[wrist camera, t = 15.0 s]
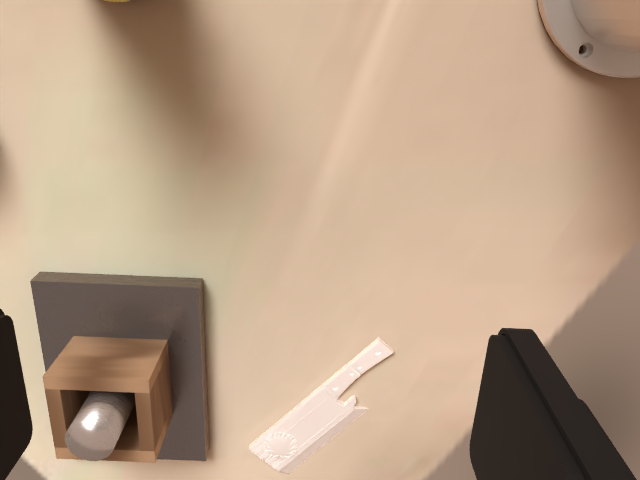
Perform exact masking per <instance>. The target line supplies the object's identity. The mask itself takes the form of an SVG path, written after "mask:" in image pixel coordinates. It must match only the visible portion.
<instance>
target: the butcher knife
mask: <svg viewBox="0 0 640 480" xmlns="http://www.w3.org/2000/svg"><path fill="white" fill-rule="evenodd" d="M393 353H394V350H393V349H392V348H391V347H390V346H389V345H387V344H386V343H385V342H384V341H383V340H382V339H381V338H380V337H378V338H377V339H376V340H375V341H373V342H372V343H371V344H370V345H369V346H367V347H366V348H365V349H364V350H363V351H361V352H360V353H359V354H358V355H357V356H355V357H354V358H353V359H352V360H351V361H349V362H348V363H347V364H346V365H345V366H343V367H342V368H341V369H340V370H339V371H337V372H336V373H335V374H334V375H333V376H331V377H330V378H329V379H328V380H327V381H325V383H323V384H322V385H321V386H319V387H318V388H317V389H316V390H315V391H313V392H312V393H311V394H310V395H309V396H307V397H306V398H305V399H304V400H303V401H302V402H300V403H299V404H298V405H297V406H295V407H294V408H293V409H292V410H291V411H289V412H288V413H287V414H286V415H285V416H283V417H282V418H281V419H280V420H279V421H277V422H276V423H275V424H274V425H273V426H271V427H270V428H269V429H268V430H267V431H265V432H264V433H263V434H262V435H261V436H259V437H258V438H257V439H256V440H255V441H253V442H252V443H251V444H250V446H249V449H250V450H251V451H252V452H253V453H255V455H257V456H259V457H260V458H262V459H261V460H264V461H265V462H267V464H270V465H271V466H272V467H273V468H274V469H276V470H278V471H281V472H284V473H288V474H289V473H290V472H292V471H293V470H294V469H295V468H297V467H298V466H299V465H300V464H301V463H303V462H304V461H305V460H306V459H308V458H309V457H310V456H311V455H313V454H314V453H315V452H316V451H318V450H319V449H320V448H321V447H323V446H324V444H326V443H328V442H329V441H330V440H331V439H333V438H334V437H335V436H336V435H338V434H339V433H340V432H341V431H343V430H344V429H345V428H346V427H348V426H349V425H350V424H351V423H353V422H354V421H355V420H356V419H358V418H359V417H360V416H361V415H363V414H364V413H365V412H366V411H368V410H369V409H368V408H364V407H360V406H355V405H356V396H355V395H354V396H351V397H350V398H349V399H348V400H347V401H346V402H344V403H343V402H342V401H341V400H340V399H339V397H340V395H341V394H342V393H343V392H344V391H345V390H346V389H347V388H348V387H349V386H350V385H351V384H352V383H353V382H354V381H355V380H356V379H357V378H358V377H360V375H361V374H363V373H364V372H365V371H367V370H368V369H370V368H371V367H373V366H374V365H376V364H377V363H379V362H380V361H382V360H383V359H385V358H386V357H388V356H390V355H391V354H393ZM354 404H355V405H354Z"/></svg>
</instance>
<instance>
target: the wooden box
mask: <svg viewBox="0 0 640 480" xmlns="http://www.w3.org/2000/svg"><path fill="white" fill-rule="evenodd" d="M43 382H44V388H45V393H46V399H47V405H48V411H49V417H50V423H51V429H52V435H53V441H54V446H55V452H56V458H57V459H81V458H79V457H77V456H75V455H74V454H73V453H72V452H71V451H70V450H69V449H68V448H67V446H66V443H65V434H66V432H67V430H68V429H69V427H70V425H71V424H72V422H73V420H74V419H75V417H76V415H77V414H78V412H79V410H80V409H81V407H82V406H83V404H84V402H85V401H86V399H87V397H88V396H89V394H90V392H91V391H108V392H133V393H135V402H136V404H135V405H134V407H133V409H132V412H131V414H130V416H129V418H128V420H127V422H126V424H125V426H124V428H123V430H122V433H121V435H120V437H119V439H118V441H117V443H116V445H115V447H114V449H113V451H112V453H111V454H110V455H109V456H108V457H107V458H105V459H102V460H107V461H132V462H156V459H157V457H158V454H159V451H160V449H161V446H162V443H163V440H164V438H165V435H166V432H167V430H168V427H169V424H170V422H171V419H172V416H173V412H172V397H171V382H170V367H169V352H168V340H157V339H133V338H109V337H85V336H73V337H72V339H71V340H70V341H69V343H68V344H67V345H66V347H65V348H64V349H63V351H62V352H61V353H60V354H59V356H58V357H57V358H56V360H55V361H54V362H53V364H52V365H51V366H50V368H49V369H48V370H47V371H46V373H45V374H44V375H43ZM81 460H84V459H81Z"/></svg>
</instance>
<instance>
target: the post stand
mask: <svg viewBox="0 0 640 480" xmlns="http://www.w3.org/2000/svg"><path fill="white" fill-rule="evenodd" d="M30 282H31V288H32V294H33V299H34V305H35V311H36V317H37V323H38V329H39V335H40V341H41V347H42V353H43V359H44V365H45V371H47V370H48V369H49V368H50V366H51V365H52V364H53V362H54V361H55V360H56V358H57V357H58V356H59V354H60V353H61V352H62V351H63V349H64V348H65V347H66V345H67V344H68V343H69V341H70V340H71V339H72V337H73V336H85V337H109V338H133V339H157V340H168V352H169V367H170V382H171V397H172V412H173V416H172V419H171V422H170V424H169V427H168V430H167V432H166V435H165V438H164V440H163V443H162V446H161V449H160V451H159V454H158V457H157V459H170V460H197V461H206V459H207V455H208V451H209V427H208V401H207V376H206V351H205V325H204V300H203V279H201V278H176V277H152V276H128V275H104V274H79V273H55V272H39V273H38V274H37V275H36V276H35V277H34V278H33V279H32V280H31V281H30ZM135 404H136V402H135V393H133V392H108V391H91V392H90V394H89V396H88V397H87V399H86V401H85V402H84V404H83V406H82V407H81V409H80V410H79V412H78V414H77V415H76V417H75V419H74V420H73V422H72V424H71V425H70V427H69V429H68V430H67V432H66V434H65V443H66V446H67V448H68V449H69V450H70V451H71V452H72V453H73V454H74V455H75V456H77V457H79V458H81V459H84V460H88V461H99V460H102V459H105V458H107V457H108V456H109V455H110V454H111V453H112V451H113V449H114V447H115V445H116V443H117V441H118V439H119V437H120V435H121V433H122V430H123V428H124V426H125V424H126V422H127V420H128V418H129V416H130V414H131V412H132V409H133V407H134V405H135Z"/></svg>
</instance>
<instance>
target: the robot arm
mask: <svg viewBox="0 0 640 480" xmlns="http://www.w3.org/2000/svg"><path fill="white" fill-rule="evenodd" d="M538 7H539V12H540V15H541V17H542V20H543V23H544V26H545V29H546V31H547V32H548V34H549V36H550V37H551V39H552V41H553V42H554V44H555V45H556V46H557V47H558V48H559V49H560V51H561V52H562V53H563V54H564V55H565V56H566V57H567V58H568V59H570V60H571V61H573V62H574V63H576V64H578V65H579V66H581V67H582V68H584V69H587V70H590V71H592V72H595V73H598V74H601V75H606V76H611V77H619V78H638V77H640V0H538ZM581 45H582V46H583V51H582V52H581V53H580V54H579V48H580V46H581ZM32 429H33V428H32V421H31V415H30V410H29V405H28V399H27V394H26V389H25V383H24V378H23V373H22V367H21V362H20V357H19V351H18V346H17V341H16V335H15V330H14V325H13V321H12V319H11V317H10V316H8V315H4V312H3V311H2V310H1V309H0V480H5V479H6V477H7V476H8V475H9V473H10V472H11V470H12V469H13V467H14V466H15V464H16V463H17V461H18V460H19V458H20V457H21V455H22V454H23V452H24V451H25V449H26V448H27V446H28V445H29V443H30V440H31V436H32ZM470 458H471V462H472V466H473V469H474V472H475V475H476V478H477V480H636V478H635V477H634V475H633V474H632V472H631V471H630V469H629V468H628V466H627V465H626V463H625V462H624V460H623V459H622V457H621V456H620V454H619V453H618V451H617V450H616V448H615V447H614V445H613V444H612V442H611V441H610V439H609V438H608V436H607V435H606V433H605V432H604V430H603V429H602V427H601V426H600V424H599V423H598V421H597V420H596V418H595V417H594V415H593V414H592V412H591V411H590V409H589V408H588V406H587V405H586V404H585V403H584V402H583V401H582V400H580V399H578V398H577V396H576V395H575V393H574V392H573V390H572V388H571V387H570V385H569V384H568V382H567V381H566V379H565V378H564V376H563V375H562V373H561V372H560V370H559V369H558V367H557V366H556V364H555V363H554V361H553V360H552V358H551V356H550V355H549V353H548V352H547V350H546V349H545V347H544V346H543V344H542V343H541V341H540V340H539V338H538V337H537V335H536V334H535V332H534V331H533V330H531V329H514V328H502V329H501V330H500V331H499V333H498V335H491V336H490V338H489V342H488V347H487V353H486V358H485V363H484V369H483V374H482V380H481V385H480V391H479V396H478V402H477V407H476V412H475V418H474V423H473V429H472V434H471V440H470Z"/></svg>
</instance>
